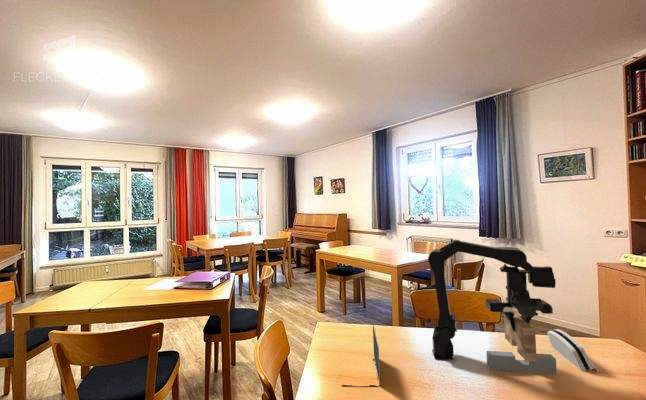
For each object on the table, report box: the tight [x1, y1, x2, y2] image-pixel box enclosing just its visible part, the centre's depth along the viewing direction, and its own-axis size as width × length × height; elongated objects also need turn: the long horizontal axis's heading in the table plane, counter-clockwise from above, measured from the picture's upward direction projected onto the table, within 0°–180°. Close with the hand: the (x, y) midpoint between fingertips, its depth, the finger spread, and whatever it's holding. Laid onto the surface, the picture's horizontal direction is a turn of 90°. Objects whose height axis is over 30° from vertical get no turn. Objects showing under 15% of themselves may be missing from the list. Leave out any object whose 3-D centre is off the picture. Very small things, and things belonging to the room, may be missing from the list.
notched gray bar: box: [486, 350, 558, 375], centre depth 100 cm, size 20×3×5 cm, turn 78°
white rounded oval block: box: [546, 328, 599, 373], centre depth 106 cm, size 17×5×10 cm, turn 170°
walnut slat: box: [503, 310, 537, 362], centre depth 100 cm, size 16×3×10 cm, turn 169°
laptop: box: [372, 324, 381, 386], centre depth 103 cm, size 18×12×13 cm
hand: (518, 331), depth 100 cm, fingers closed on walnut slat, 3 cm apart
